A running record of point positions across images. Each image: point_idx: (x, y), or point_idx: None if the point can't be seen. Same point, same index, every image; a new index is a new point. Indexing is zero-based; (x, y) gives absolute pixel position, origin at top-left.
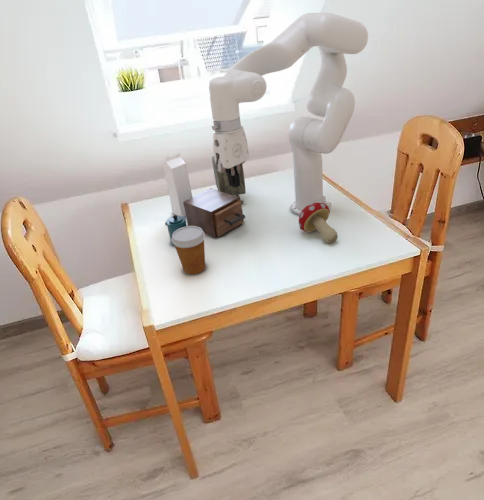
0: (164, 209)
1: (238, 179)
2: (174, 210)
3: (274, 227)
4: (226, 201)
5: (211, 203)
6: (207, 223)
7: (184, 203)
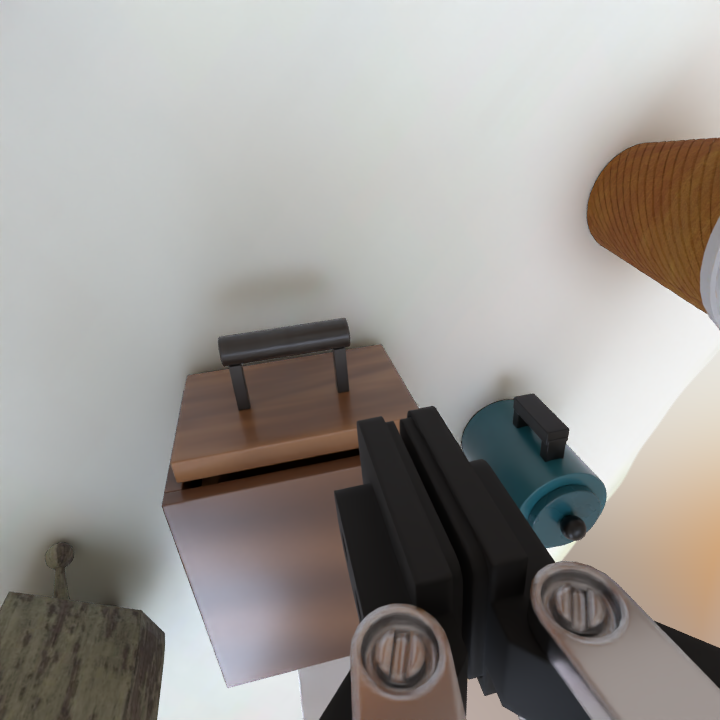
0: None
1: (412, 485)
2: None
3: (47, 195)
4: (274, 506)
5: None
6: None
7: None
